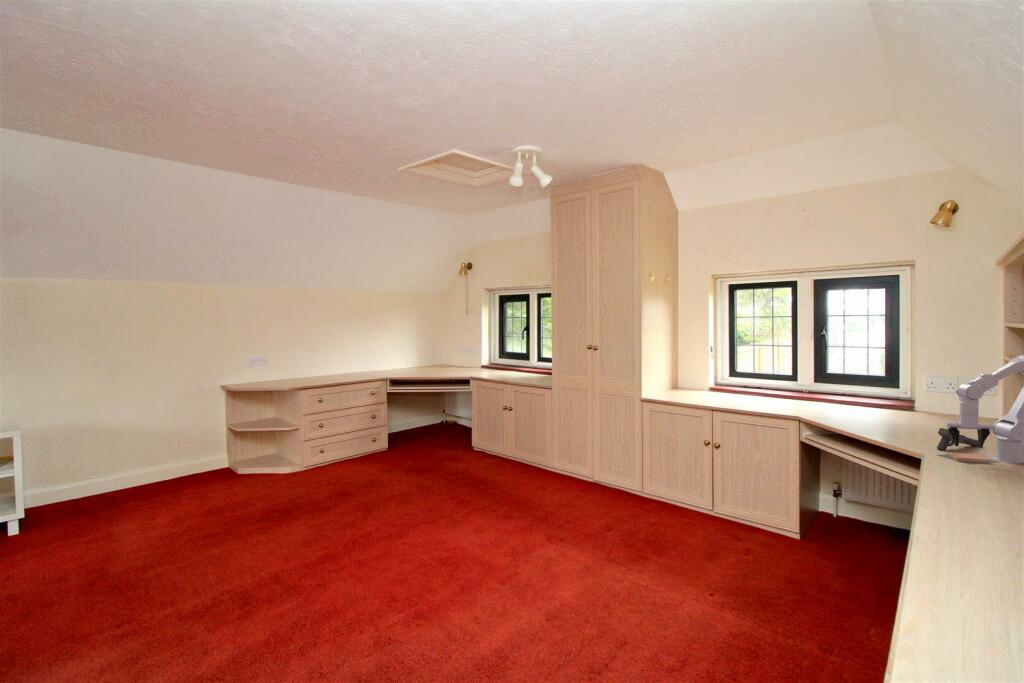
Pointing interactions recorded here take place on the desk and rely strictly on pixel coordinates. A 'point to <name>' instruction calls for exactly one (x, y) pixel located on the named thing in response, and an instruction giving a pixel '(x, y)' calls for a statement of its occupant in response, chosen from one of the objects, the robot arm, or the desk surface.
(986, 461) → the tile
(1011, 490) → the desk surface
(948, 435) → the handgun
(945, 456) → the mat
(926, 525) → the desk surface
